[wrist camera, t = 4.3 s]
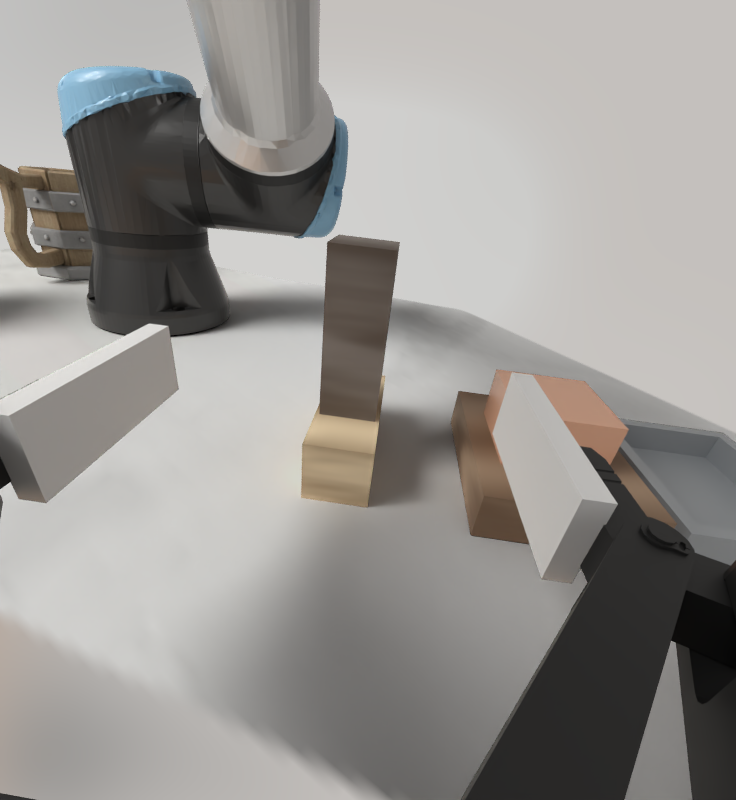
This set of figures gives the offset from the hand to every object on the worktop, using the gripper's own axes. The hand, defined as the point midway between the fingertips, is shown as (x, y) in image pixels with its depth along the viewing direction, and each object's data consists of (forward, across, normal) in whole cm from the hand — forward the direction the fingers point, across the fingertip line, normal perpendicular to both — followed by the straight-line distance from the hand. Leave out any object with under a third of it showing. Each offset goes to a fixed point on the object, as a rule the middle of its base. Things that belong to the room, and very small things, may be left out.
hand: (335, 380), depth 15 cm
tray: (+8, +24, -10) cm, 27 cm away
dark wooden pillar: (+8, 0, -10) cm, 13 cm away
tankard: (+42, -48, -10) cm, 65 cm away
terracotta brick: (+8, +12, -7) cm, 17 cm away
